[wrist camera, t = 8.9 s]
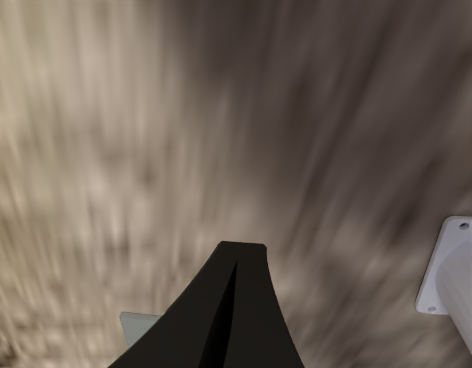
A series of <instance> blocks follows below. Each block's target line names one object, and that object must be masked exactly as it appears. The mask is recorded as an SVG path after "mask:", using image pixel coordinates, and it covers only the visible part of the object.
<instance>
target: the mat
mask: <svg viewBox="0 0 472 368" xmlns="http://www.w3.org/2000/svg"><path fill="white" fill-rule="evenodd" d="M160 317H161V316H154V315H144V314H135V313H126V312H122V313H121V315H120V321H121V324H122V328H123V332H124V335H125V339H126V342H127V346H128V349H129V348H130V347H131V346H132V345H133V344H134V343H135V342H136V341H137V340H138V339H140V338H141V337H142V336H143V335H144V334H145V333H146V332H147V331H148V330H149V329H150V328H151V327H152V326H153V325H154V324H155V323H156V321H157V320H158V319H159V318H160Z"/></svg>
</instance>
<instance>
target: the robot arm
mask: <svg viewBox="0 0 472 368" xmlns="http://www.w3.org/2000/svg"><path fill="white" fill-rule="evenodd" d="M463 223H466V224H465V225H463V226H460V225H461V224H463ZM415 307H416V310H417V311H418V312H421V313H428V314H439V315H450V316H451V318H452V320H453V322H454V323H455V325H456V327H457V329H458V331H459V333H460V334H461V336H462V338H463V340H464V342H465V343H466V345H467V347H468V349H469V351H470V353H471V354H472V217H467V216H451V217H448V218H447V219H445V221H444V222H443V225H442V228H441V231H440V234H439V237H438V239H437V242H436V245H435V248H434V251H433V254H432V256H431V259H430V262H429V265H428V268H427V271H426V274H425V276H424V279H423V282H422V285H421V288H420V291H419V293H418V296H417V299H416V302H415ZM108 368H305V367H304V365H303V363H302V361H301V359H300V357H299V354H298V352H297V350H296V348H295V345H294V343H293V341H292V338H291V336H290V333H289V331H288V328H287V326H286V323H285V321H284V318H283V315H282V312H281V310H280V307H279V304H278V301H277V297H276V294H275V291H274V288H273V284H272V281H271V277H270V272H269V268H268V262H267V247H266V246H265V245H264V244H257V243H243V242H229V241H221V242H220V243H219V244H218V245H217V247H216V249H215V250H214V252H213V253H212V255H211V256H210V257H209V259H208V260H207V262H206V263H205V264H204V266H203V267H202V268H201V270H200V271H199V273H198V274H197V275H196V276H195V278H194V279H193V280H192V281H191V283H190V284H189V285H188V286H187V288H186V289H185V290H184V291H183V292H182V294H181V295H180V296H179V297H178V298H177V299H176V301H175V302H174V303H173V304H172V305H171V306H170V307H169V308H168V309H167V311H166V312H165V313H164V314H163V315H162V316H161V317H160V318H159V319H158V320H157V321H156V323H155V324H154V325H153V326H152V327H151V328H150V329H149V330H148V331H147V332H146V333H145V334H144V335H143V336H142V337H141V338H140V339H138V340H137V341H136V342H135V343H134V344H133V345H132V346H131V347H130V348H129V349H128V350H127V351H126V352H125V353H124V354H122V355H121V356H120V357H119V358H118V359H117V360H116V361H115V362H113V363H112V364H111V365H110V366H109V367H108Z"/></svg>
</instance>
